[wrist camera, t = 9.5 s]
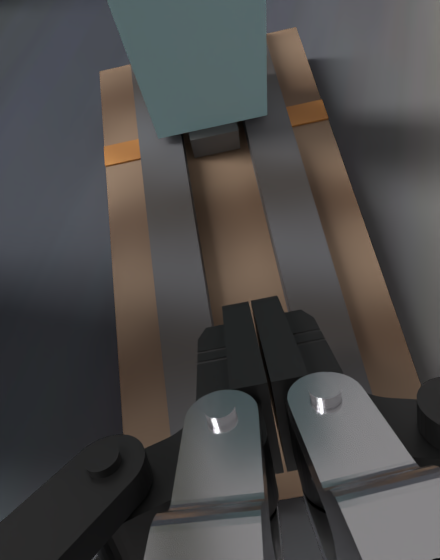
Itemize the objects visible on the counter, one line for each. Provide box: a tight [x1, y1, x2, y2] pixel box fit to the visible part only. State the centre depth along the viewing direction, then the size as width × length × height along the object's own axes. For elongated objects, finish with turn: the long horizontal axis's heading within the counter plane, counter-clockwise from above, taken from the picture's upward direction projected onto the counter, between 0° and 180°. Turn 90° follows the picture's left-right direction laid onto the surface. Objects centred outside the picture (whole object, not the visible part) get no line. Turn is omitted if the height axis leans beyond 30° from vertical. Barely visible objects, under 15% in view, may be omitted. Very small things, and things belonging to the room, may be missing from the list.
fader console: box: [100, 27, 421, 500], centre depth 18 cm, size 22×11×3 cm, turn 9°
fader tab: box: [107, 0, 267, 158], centre depth 15 cm, size 4×5×10 cm
